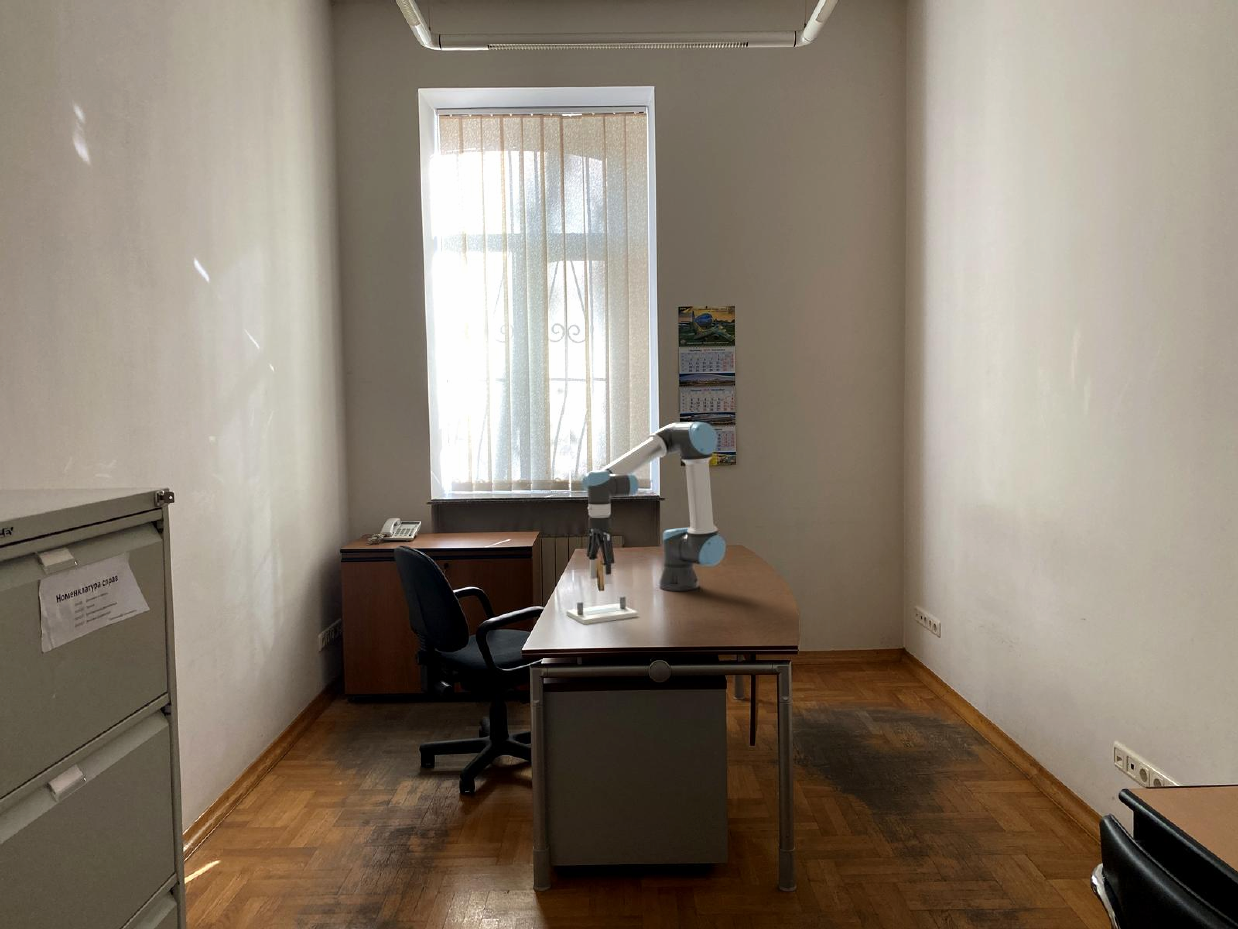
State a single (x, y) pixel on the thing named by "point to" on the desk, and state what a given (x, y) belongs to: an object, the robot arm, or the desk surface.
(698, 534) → the robot arm
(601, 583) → the ammunition clip
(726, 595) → the desk surface
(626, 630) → the desk surface
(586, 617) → the board
